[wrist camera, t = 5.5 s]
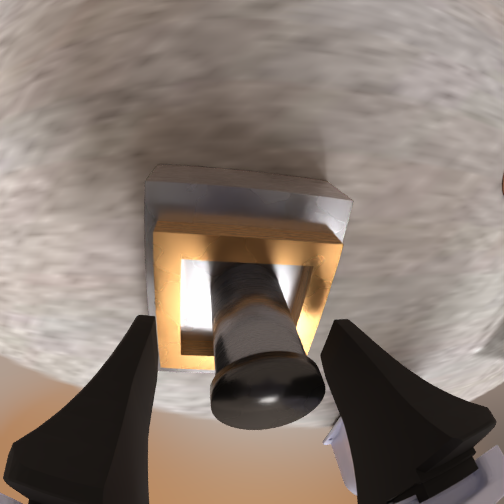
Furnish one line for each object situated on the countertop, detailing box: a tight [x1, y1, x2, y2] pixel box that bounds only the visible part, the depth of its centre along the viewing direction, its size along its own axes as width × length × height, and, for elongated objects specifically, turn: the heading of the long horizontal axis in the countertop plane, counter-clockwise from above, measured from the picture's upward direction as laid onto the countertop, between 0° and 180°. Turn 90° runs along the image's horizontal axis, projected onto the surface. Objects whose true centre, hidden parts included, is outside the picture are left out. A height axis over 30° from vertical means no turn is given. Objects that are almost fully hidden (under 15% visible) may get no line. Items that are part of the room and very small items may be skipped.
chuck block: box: [144, 164, 353, 373], centre depth 14 cm, size 10×8×4 cm
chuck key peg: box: [210, 264, 325, 430], centre depth 10 cm, size 3×3×6 cm
